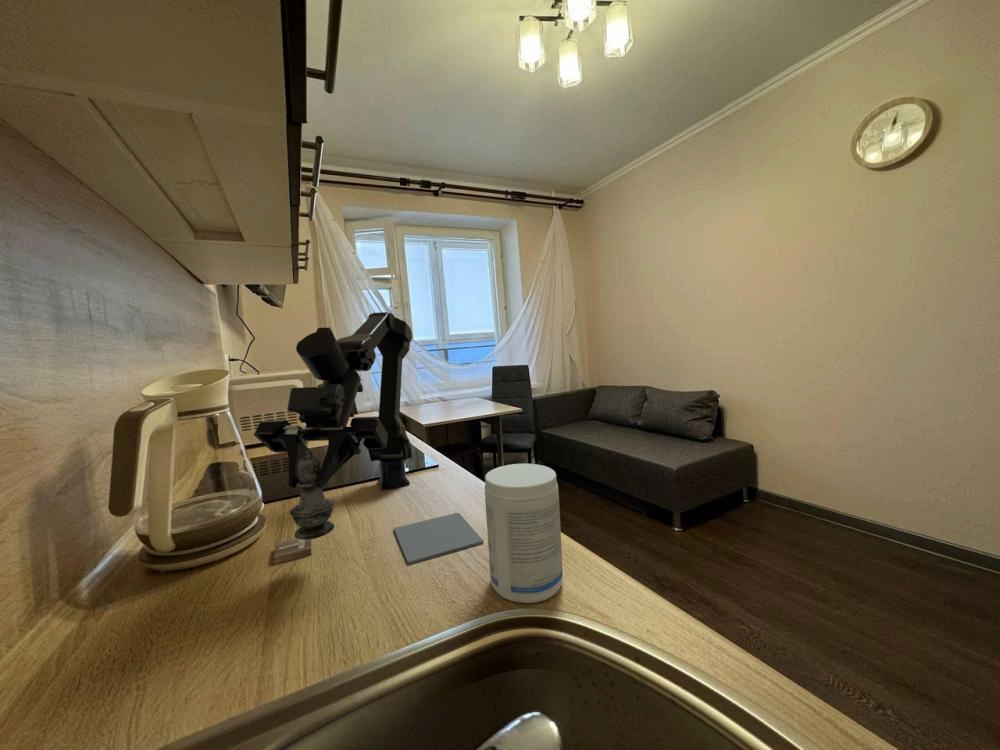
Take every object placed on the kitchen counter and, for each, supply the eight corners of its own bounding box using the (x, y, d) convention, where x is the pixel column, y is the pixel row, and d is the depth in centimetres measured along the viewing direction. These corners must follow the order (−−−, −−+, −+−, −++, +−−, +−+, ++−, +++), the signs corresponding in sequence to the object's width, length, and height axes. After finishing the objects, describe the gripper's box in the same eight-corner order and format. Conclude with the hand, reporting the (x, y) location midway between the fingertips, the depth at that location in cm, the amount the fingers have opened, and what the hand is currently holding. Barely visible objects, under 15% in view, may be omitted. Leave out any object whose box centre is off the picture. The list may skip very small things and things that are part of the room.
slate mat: (393, 530, 65) (393, 528, 65) (458, 514, 71) (458, 512, 70) (408, 564, 55) (407, 562, 55) (483, 543, 60) (483, 540, 60)
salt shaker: (303, 545, 50) (296, 458, 50) (284, 533, 54) (276, 452, 53) (344, 527, 55) (338, 447, 54) (324, 517, 59) (317, 442, 58)
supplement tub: (574, 573, 51) (570, 468, 50) (543, 618, 43) (538, 492, 42) (512, 555, 56) (508, 459, 55) (475, 591, 48) (469, 479, 47)
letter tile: (277, 551, 61) (276, 542, 61) (311, 543, 63) (310, 534, 63) (274, 567, 56) (273, 556, 56) (311, 557, 59) (310, 547, 59)
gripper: (255, 369, 57) (203, 462, 47) (375, 363, 56) (348, 457, 46) (291, 410, 66) (253, 497, 55) (396, 406, 65) (377, 494, 55)
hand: (305, 486), depth 53 cm, fingers closed on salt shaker, 4 cm apart
